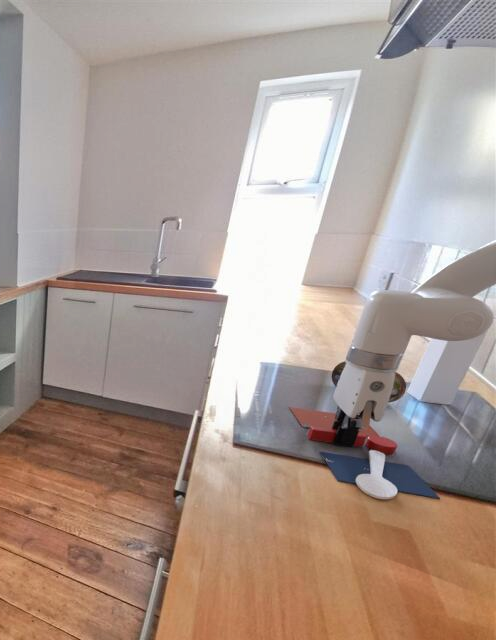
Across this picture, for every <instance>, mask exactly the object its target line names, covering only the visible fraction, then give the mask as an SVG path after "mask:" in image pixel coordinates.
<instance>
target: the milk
mask: <svg viewBox="0 0 496 640" xmlns="http://www.w3.org/2000/svg"><path fill="white" fill-rule="evenodd" d="M488 332H489V329H488V330H487V331H486V332H484V333H483V334H481V335H480V336H478V337H475V338H472V339H469V340H464V341H443V340H438V339H433V338H430V340H429V342H428V344H427V346H426V348H425V351H424V353H423V355H422V357H421V360H420V362H419V364H418V366H417V369H416V371H415V373H414V375H413V377H412V380H411V381H410V384H409V386H408V389H407V391H406V393H407V394H409V395H410V396H412V397H413V398H414V399H416V400H417V401H418V402H420V403H428V404H429V403H430V404H439V405H447V406H451V405H452V402H453V401H454V399H455V397H456V395H457V393H458V391H459V389H460V388H461V385H462V383H463V381H464V380H465V377H466V375H467V374H468V372H469V369H470V367H471V365H472V364H473V362H474V359H475V357H476V356H477V353H478V351H479V349H480V348H481V346H482V344H483V341H484V339H485V338H486V336H487V334H488Z"/></svg>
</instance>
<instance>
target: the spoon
mask: <svg viewBox="0 0 496 640" xmlns="http://www.w3.org/2000/svg"><path fill="white" fill-rule="evenodd" d="M368 459H369V463H370V471H371V474H360V475H358V476H357V478H356V484H355V485H357V487H358V488H359V490H361V491H362V492H363V493H365V495H366V494H367V495H368V496H370V497H372V498H375V499H378V500H390V499H391V500H392V499H393V498H396V496H397V495H398V492H397V488H396V486H395V485H394V484H392V483H391V482H389V481H388V480H386V479H384V478H383V477H382V473H383V469H384V468H383V467H384V462H386V454H384V453H383V452H382V453H381V452H379V451H376V450H372V449H370V450H369V451H368Z"/></svg>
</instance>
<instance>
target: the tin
mask: <svg viewBox="0 0 496 640" xmlns="http://www.w3.org/2000/svg"><path fill="white" fill-rule="evenodd" d="M345 365H346V362H345V360H344V361H342V362H340V363H338V364H337V365H335V367H334V368H333V370H332V372H331V382H332V383H333V386H334V387H335V388H336V386H337V383H338V381H339V378H340V376H341V374H342V372H343V369H344V367H345ZM406 390H407V382H406V379H405V378H404V377H403V376H402V374H400V373H398V372H397V371H395V378H394V384H393V388H392V392H391V395H390V398H389V401H388V404H389V403H394V402H396V401H398V400H400V399H401V398H402V397H403V396H404V394H405V393H406Z"/></svg>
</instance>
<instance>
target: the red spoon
mask: <svg viewBox="0 0 496 640" xmlns="http://www.w3.org/2000/svg"><path fill="white" fill-rule="evenodd" d="M336 433H337V430H335V429H328V428H321V427H314V426H311V427H310V428H309V430H308V433H307V435H306V436H307V438H308V439H309V440H311V441H317V442H325V443H331V444H334V443H333V440H334V438H335V435H336ZM364 446H366V447H367V448H368V449H370V450H376V451H379V452H381V453H382V452H383V453H384V454H385V455H393V454H394V453H395V452H396V450H397V448H398V446H399V445H398V444H397V442H396V441H394V440H392V439H390V438H387V437H384V436H381V435H379V436H369V437H366V435H365V434H364V433H358V435H357V438H356V440H355V443H354V445H353V446H352V447H359V448H364Z"/></svg>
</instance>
